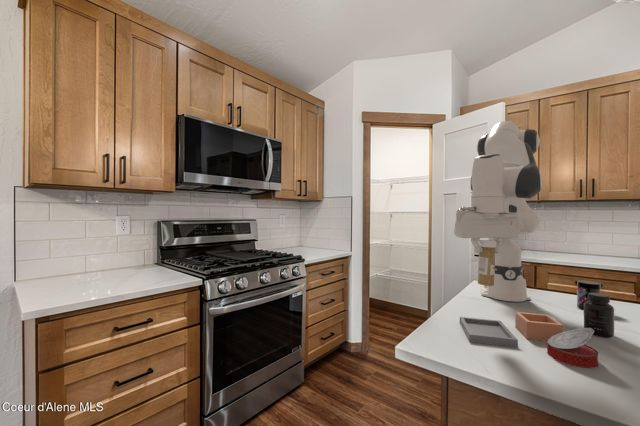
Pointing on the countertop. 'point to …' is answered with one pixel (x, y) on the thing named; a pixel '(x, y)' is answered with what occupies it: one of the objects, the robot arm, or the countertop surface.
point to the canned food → (573, 348)
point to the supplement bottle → (599, 315)
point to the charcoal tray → (488, 332)
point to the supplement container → (586, 291)
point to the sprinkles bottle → (486, 263)
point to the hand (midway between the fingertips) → (486, 253)
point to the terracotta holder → (537, 326)
